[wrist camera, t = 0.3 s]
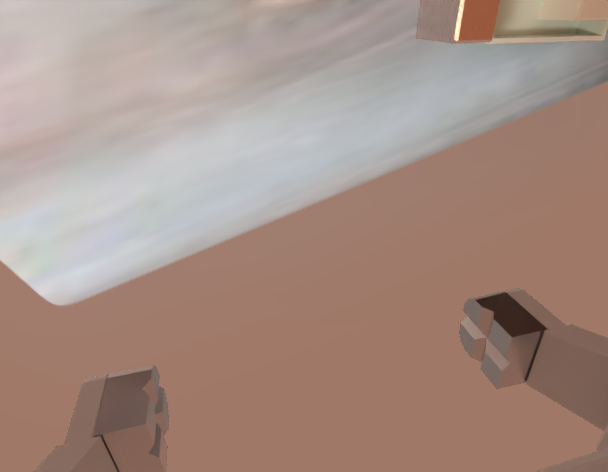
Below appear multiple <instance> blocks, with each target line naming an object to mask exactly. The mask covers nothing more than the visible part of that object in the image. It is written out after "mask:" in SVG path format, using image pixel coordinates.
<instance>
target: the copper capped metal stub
mask: <svg viewBox="0 0 608 472" xmlns="http://www.w3.org/2000/svg"><path fill="white" fill-rule="evenodd" d="M499 3H500V0H420V7H419V15H418V24H417V32H416V39H423V40H431V41H438V42H446V43H483V42H492V38H493V33H494V28H495V23H496V18H497V13H498V8H499Z"/></svg>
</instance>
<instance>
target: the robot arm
mask: <svg viewBox="0 0 608 472" xmlns="http://www.w3.org/2000/svg"><path fill="white" fill-rule="evenodd" d="M463 311H464V312H465V313H466V315H467V316H466V317H465V319H464V320H463V321H462V322H461V324H460V331H459V334H460V338H461V342H462V344H463V346H464V348H465V350H466V351H467V352H468V354H469V355H470V356H471V357H472V358H475V359H476V360H478V361H480V362H481V370H482V371H483V373H484V374H485V375H486V376H487V377H488V379H489V380H490V381H491V382H492V384H493V385H494V386H495V387H496V389H499V388H503V387H507V386H512V385H516V384H521V383H525V382H526V384H527V385H528V386H530V387H532V388H533V389H535V390H537V391H538V392H540V393H542V394H543V395H545V396H547V397H548V398H550V399H552V400H553V401H555V402H557V403H558V404H560V405H562V406H563V407H565V408H567V409H568V410H570V411H572V412H573V413H575V414H577V415H578V416H580V417H582V418H583V419H585V420H587V421H588V422H590V423H592V424H593V425H595V426H596V427H598V428H600V429H602V430H603V431H604V432H603V433H602V435H601V437H600V439H599V441H598V443H597V451H598V452H594V453H592V454H588V455H585V456H582V457H578V458H575V459H572V460H569V461H565V462H562V463H559V464H556V465H553V466H550V467H546V468H543V469H540V470H537V471H533V472H608V338H606V337H604V336H601V335H598V334H596V333H593V332H590V331H588V330H585V329H582V328H579V327H577V326H574V325H567V326H566V325H565V324H564V323H563V322H562V321H560V320H559V319H558V318H557V317H556V316H554V315H553V314H552V313H551V312H549V311H548V310H547V309H546V308H545V307H544V306H542V305H541V304H540V303H539V302H538V301H536V300H535V299H534V298H533V297H532V296H531V295H529V294H528V293H527V292H526V291H525V290H523V289H520V288H515V289H511V290H506V291H502V292H498V293H493V294H488V295H484V296H479V297H475V298H470V299H468V300H467V301H466V303H465V305H464V310H463ZM159 379H160V376H159V373H158V370H157V368H156V366H148V367H142V368H137V369H132V370H126V371H121V372H115V373H110V374H107V375H102V376H96V377H91V378H86V379H85V380H84V382H83V383H82V385H81V388H80V391H79V395H78V398H77V401H76V405H75V408H74V412H73V415H72V418H71V422H70V425H69V429H68V432H67V436H66V439H65V443H64V445H60V446H56V447H55V449H54V450H53V451H52V452H51V453H50V454H49V455H48V456H47V457H46V458H45V459H44V461H43V462H42V463H41V464H40V465H39V466H38V467H37V468H36V469H35V470H34V471H33V472H166V466H167V448H168V447H167V444H166V441H165V439H164V435H165V434H166V432H167V431H168V428H169V426H168V425H169V415H168V403H167V398H166V394H165V391H164V389H163V388H161V387H160V386H159Z"/></svg>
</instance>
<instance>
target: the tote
mask: <svg viewBox="0 0 608 472" xmlns="http://www.w3.org/2000/svg"><path fill="white" fill-rule="evenodd" d="M542 3H543V0H500V3H499V8H498V13H497V18H496V23H495V28H494V33H493V38H492V42H483V43H484V44H503V43H535V42H566V41H598V40H604V38H605V35H606V32H607V29H608V20H580V21H569V20H538V19H539V15H540V11H541V7H542Z"/></svg>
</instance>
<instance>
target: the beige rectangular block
mask: <svg viewBox="0 0 608 472" xmlns="http://www.w3.org/2000/svg"><path fill="white" fill-rule="evenodd" d="M538 20H569V21H580V20H608V0H543V3H542V7H541V11H540V15H539V19H538Z"/></svg>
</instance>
